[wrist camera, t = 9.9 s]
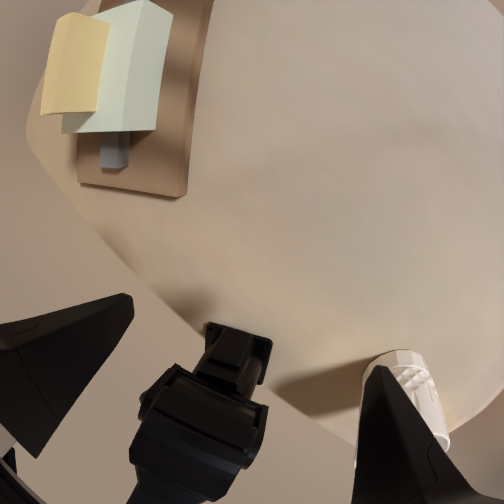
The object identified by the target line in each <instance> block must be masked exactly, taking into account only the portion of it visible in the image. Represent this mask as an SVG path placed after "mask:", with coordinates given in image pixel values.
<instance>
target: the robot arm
mask: <svg viewBox="0 0 504 504" xmlns="http://www.w3.org/2000/svg"><path fill="white" fill-rule="evenodd" d="M133 318H134V305H133V298H132V297H131V296H130V295H128V294H125V293H120V294H116V295H113V296H109V297H105V298H102V299H98V300H95V301H91V302H87V303H84V304H80V305H76V306H73V307H69V308H65V309H62V310H58V311H55V312H51V313H47V314H45V315H40V316H36V317H33V318H29V319H24V320H20V321H15V322H9V323H3V324H0V504H47V503H46V502H44V501H43V500H42V499H41V498H40V497H39V496H38V495H37V494H35V493H34V492H33V491H32V490H31V489H30V488H29V487H28V486H27V485H26V484H25V483H24V482H23V481H22V480H21V479H20V478H19V477H18V476H17V475H16V474H17V469H16V460H15V449H14V448H13V447H12V446H13V445H14V444H15V443H16V442H18V443H19V444H20V445H21V446H22V447H23V448H25V449H26V450H27V451H28V452H29V453H30V454H31V455H32V456H33V457H34V458H35V459H36V458H37V457H38V456H39V454H40V453H41V451H42V450H43V448H44V447H45V445H46V444H47V442H48V441H49V439H50V438H51V436H52V434H53V433H54V432H55V430H56V429H57V427H58V426H59V424H60V422H61V421H62V420H63V418H64V417H65V415H66V414H67V412H68V411H69V410H70V408H71V407H72V406H73V404H74V403H75V401H76V400H77V398H78V397H79V396H80V394H81V393H82V392H83V390H84V389H85V387H86V386H87V385H88V383H89V382H90V380H91V379H92V378H93V376H94V375H95V374H96V372H97V371H98V370H99V369H100V367H101V366H102V365H103V363H104V362H105V361H106V359H107V358H108V357H109V355H110V354H111V353H112V351H113V350H114V348H115V347H116V346H117V344H118V343H119V341H120V339H121V338H122V336H123V334H124V333H125V331H126V330H127V328H128V326H129V325H130V323H131V322H132V320H133ZM210 327H212V328H213V329H212V328H210ZM267 344H269V345H267ZM272 346H273V342H272V341H271V340H270V339H267V338H263V337H259V336H256V335H252V334H249V333H245V332H242V331H238V330H235V329H231V328H228V327H225V326H221V325H218V324H215V323H208V325H207V326H206V337H205V353H204V354H203V356H202V357H201V359H200V361H199V363H198V364H197V366H196V367H195V369H194V370H193V372H192V373H191V372H189V371H187V370H185V369H183V368H181V366H180V365H178V364H176V363H175V364H174V365H173V366H172V367H171V368H168V369H167V370H166V372H165V373H164V374H163V375H162V376H161V377H160V378H159V379H158V380H157V381H156V382H155V383H154V384H153V385H152V386H151V387H150V388H149V389H148V390H146V391H145V392H143V393H142V394H141V396H140V398H139V400H140V403H141V407H140V410H139V414H138V420H140V421H142V423H141V425H140V427H139V429H138V431H137V433H136V435H135V437H134V439H133V442H132V444H131V446H130V448H129V461H130V463H131V464H133V465H135V469H136V475H137V480H138V483H137V485H136V487H135V488H134V490H133V492H132V494H131V496H130V498H129V499H128V501H127V503H126V504H200V503H203V502H205V501H207V500H208V501H211V502H215V501H217V500H218V499H220V498H222V497H223V496H225V495H226V494H227V492H228V490H229V488H230V486H231V484H232V483H233V481H234V480H235V478H236V476H237V474H238V472H239V470H240V469H244V470H246V469H247V468H248V467H249V466H250V465H251V464H252V462H253V461H254V459H255V457H256V455H257V453H258V451H259V449H260V447H261V444H262V441H263V437H264V432H265V426H266V420H267V414H268V408H269V407H268V406H266V405H261V404H258V403H256V402H253V401H251V397H252V394H253V392H254V389H255V386H256V384H257V385H261V384H262V383H263V381H264V377H265V373H266V369H267V365H268V362H269V358H270V354H271V350H272ZM258 380H259V381H258ZM351 504H504V500H501V499H497V498H492V497H489V496H485V495H482V494H480V493H478V492H477V491H475V490H474V489H473V488H472V487H471V486H470V485H469V483H468V482H467V481H466V479H465V478H464V477H463V476H462V474H461V473H460V472H459V470H458V469H457V468H456V466H454V464H453V462H452V461H451V460H450V458H449V457H448V456H447V454H446V453H445V451H444V450H443V448H442V447H441V445H440V444H439V442H438V441H437V439H436V438H435V437H434V435H433V433H432V431H431V430H430V428H429V427H428V425H427V424H426V422H425V421H424V419H423V418H422V416H421V415H420V413H419V412H418V410H417V409H416V407H415V406H414V404H413V403H412V401H411V400H410V398H409V397H408V395H407V394H406V392H405V391H404V390H403V388H402V387H401V385H400V384H399V382H398V381H397V379H396V378H395V377H394V375H393V374H392V372H391V371H390V369H389V368H388V367H387V366H383V365H376V366H375V367H374V368H373V370H372V372H371V373H370V375H369V377H368V378H367V380H366V382H365V386H364V394H363V401H362V408H361V414H360V420H359V431H358V447H357V459H356V469H355V478H354V487H353V494H352V502H351Z"/></svg>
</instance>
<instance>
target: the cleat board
mask: <svg viewBox="0 0 504 504" xmlns="http://www.w3.org/2000/svg"><path fill="white" fill-rule="evenodd" d="M133 1H137V0H102V1H101V4H100V8H99V11H98V14H99V13H101V12H104V11H106V10H109V9H112V8H115V7H118V6H121V5H124V4H127V3H130V2H133ZM149 1H151V2H152V3H154V4H156V5H158V6H159V7H161V8H163V9H165V10H166V11H168V12H170V13H171V14H173V20H172V24H171V29H170V34H169V38H168V44H167V49H166V54H165V60H164V66H163V72H162V78H161V85H160V93H159V100H158V109H157V118H156V128H155V130H137V131H104V132H81V133H78V148H77V182H81V183H88V184H95V185H103V186H109V187H116V188H123V189H129V190H136V191H142V192H148V193H154V194H160V195H166V196H172V197H180V196H182V195H185V194H187V182H188V170H189V158H190V148H191V138H192V129H193V120H194V112H195V104H196V97H197V89H198V83H199V76H200V69H201V63H202V57H203V51H204V46H205V40H206V35H207V30H208V25H209V20H210V15H211V10H212V6H213V1H214V0H149Z"/></svg>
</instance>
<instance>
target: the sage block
mask: <svg viewBox="0 0 504 504" xmlns="http://www.w3.org/2000/svg"><path fill="white" fill-rule="evenodd" d="M172 20H173V14H171V13H170V12H168V11H166V10H165V9H163V8H161V7H159V6H158V5H156V4H154V3H152V2H151V1H149V0H137V1H133V2H130V3H127V4H124V5H121V6H118V7H115V8H112V9H109V10H106V11H104V12H101V13H99V14H96V15H93V16H91V17H89V16H85V15H82V14H78V13H74V12H71V13H69V14H67V15H65V16H63V17H61V18H59V19H58V20H57V23H56V27H55V31H54V34H53V39H52V42H51V47H50V51H49V56H48V61H47V66H46V72H45V78H44V85H43V92H42V101H41V111H40V115H53V114H63V118H62V134H66V133H81V132H104V131H137V130H155V128H156V118H157V109H158V100H159V93H160V85H161V78H162V72H163V66H164V60H165V54H166V49H167V44H168V38H169V34H170V29H171V24H172Z"/></svg>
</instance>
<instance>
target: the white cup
mask: <svg viewBox="0 0 504 504" xmlns="http://www.w3.org/2000/svg"><path fill="white" fill-rule="evenodd" d="M376 365H383V366H387V367H388V368H389V369H390V371H391V372H392V374H393V375H394V377H395V378H396V379H397V381H398V382H399V384H400V385H401V387H402V388H403V390H404V391H405V392H406V394H407V395H408V397H409V398H410V400H411V401H412V403H413V404H414V406H415V407H416V409H417V410H418V412H419V413H420V415H421V416H422V418H423V419H424V421H425V422H426V424H427V425H428V427H429V428H430V430H431V431H432V433H433V435H434V437H435V438H436V439H437V441H438V442H439V444H440V445H441V447H442V448H443V450H444V451H445V452H446V451H447V450H448V448H449V446H450V439H449V435H448V430H447V426H446V422H445V418H444V414H443V411H442V407H441V404H440V400H439V398H438V395H437V391H436V389H435V386H434V383H433V380H432V378H431V376H430V374H429V371H428V368H427V365H426V363H425V361H424V359H423V358H422V356H421V355H420V354H418V353H415V352H413V351H411V350H395V351H392V352H389V353H386V354H383V355H380V356H379V357H378V358H376V359H375V360H374V361H372V362H371V363H370V364H369V365H368V366H367V368H366V370H365V372H364V373H363V378H362V396H361V399H360V409H359V419H358V429H357V439H356V448H355V456H354V463H353V465H354V468H355V469H356V459H357V447H358V431H359V420H360V414H361V408H362V401H363V394H364V386H365V382H366V380H367V378H368V377H369V375H370V373H371V372H372V370H373V368H374V367H375V366H376Z"/></svg>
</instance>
